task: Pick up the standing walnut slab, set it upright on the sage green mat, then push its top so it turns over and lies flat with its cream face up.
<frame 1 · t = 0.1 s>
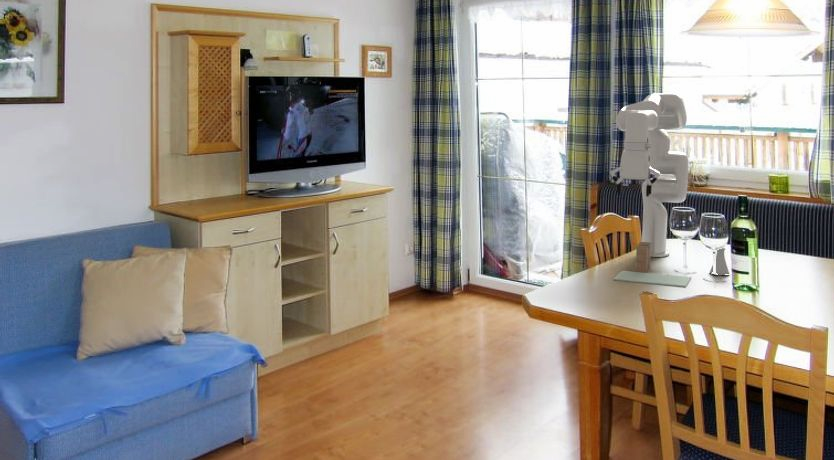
hand: (633, 195, 271), 31 cm above the table, tool pointing down, fingers open, 9 cm apart
sage mat: (652, 279, 277), on the table
flask: (719, 274, 283), on the table
walnut slab: (642, 269, 291), on the table
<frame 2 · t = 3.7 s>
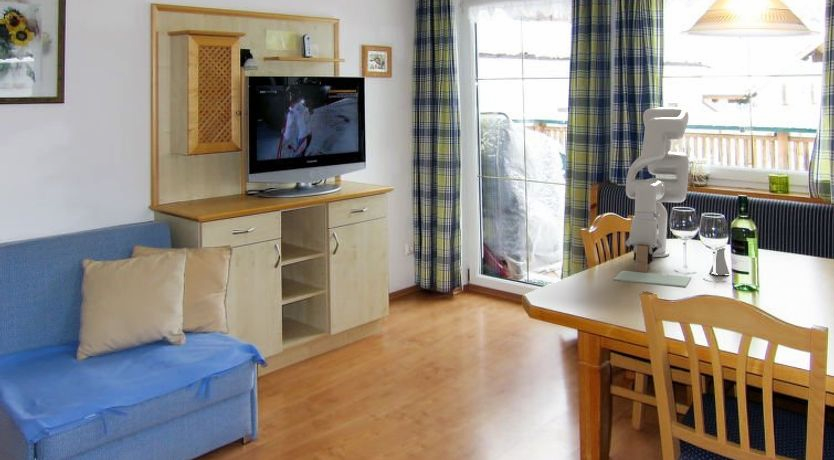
hand: (642, 262, 291), 3 cm above the table, tool pointing down, fingers closed on walnut slab, 4 cm apart
walnut slab: (642, 269, 291), on the table, touching gripper
everything else where it was.
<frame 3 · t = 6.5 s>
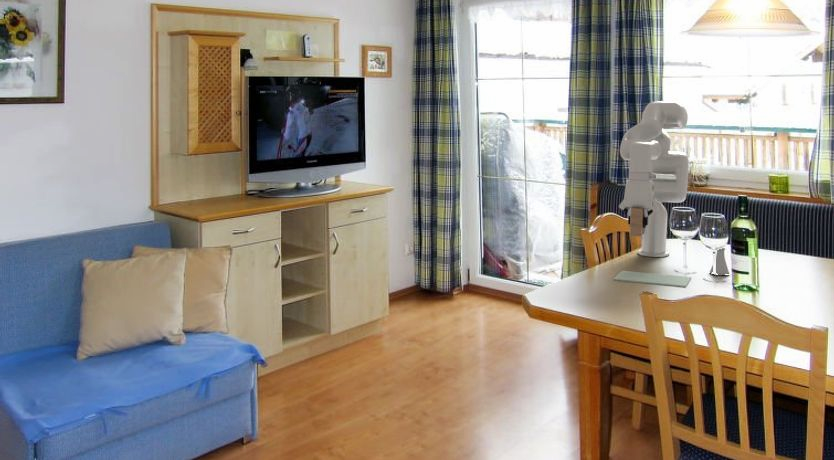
hand: (637, 226, 276), 19 cm above the table, tool pointing down, fingers closed on walnut slab, 4 cm apart
walnut slab: (637, 233, 277), point 16 cm above the table, touching gripper
everything else where it was.
when the fingers open (4 cm above the table, at t = 9.6 s): walnut slab stays where it is, resting on sage mat.
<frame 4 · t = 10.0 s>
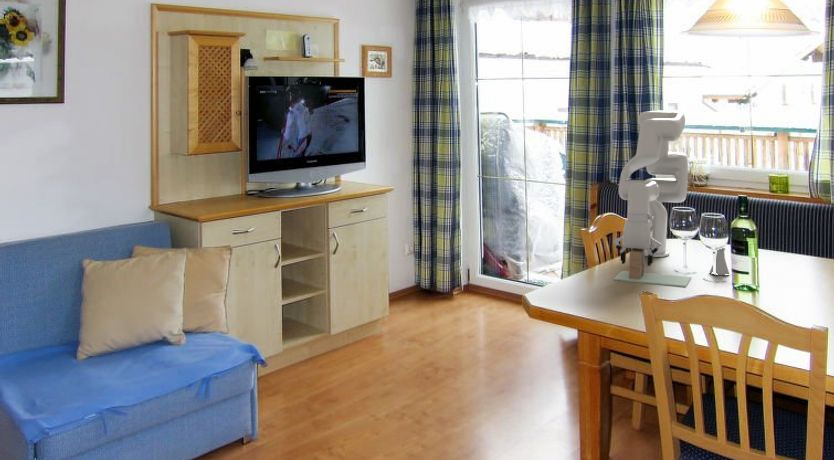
hand: (636, 264, 279), 5 cm above the table, tool pointing down, fingers open, 8 cm apart
walnut slab: (636, 276, 280), resting on sage mat
everything else where it was.
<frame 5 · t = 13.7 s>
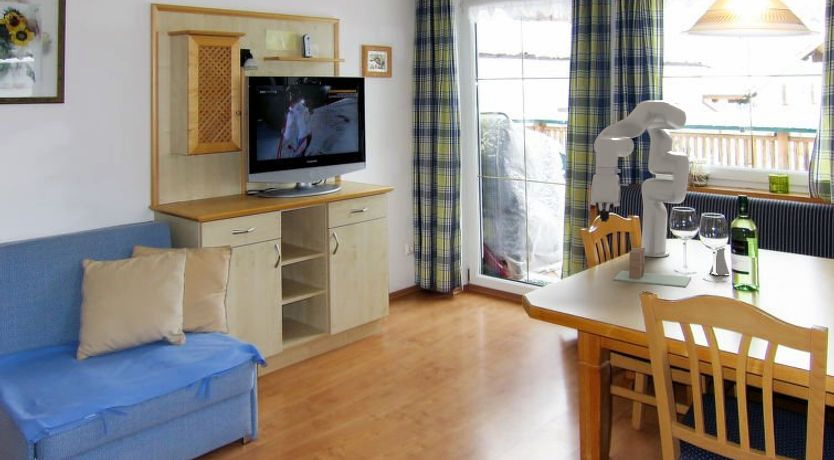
hand: (604, 221, 281), 20 cm above the table, tool pointing down, fingers closed
nothing on the table moved.
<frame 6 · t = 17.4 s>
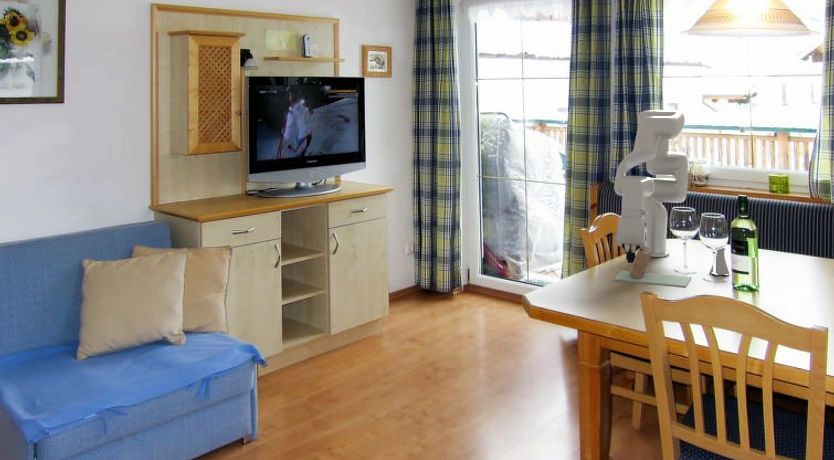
hand: (630, 262, 280), 6 cm above the table, tool pointing down, fingers closed
walnut slab: (636, 274, 280), point 1 cm above the table, tilted 16°, touching gripper, sage mat
everything else where it was.
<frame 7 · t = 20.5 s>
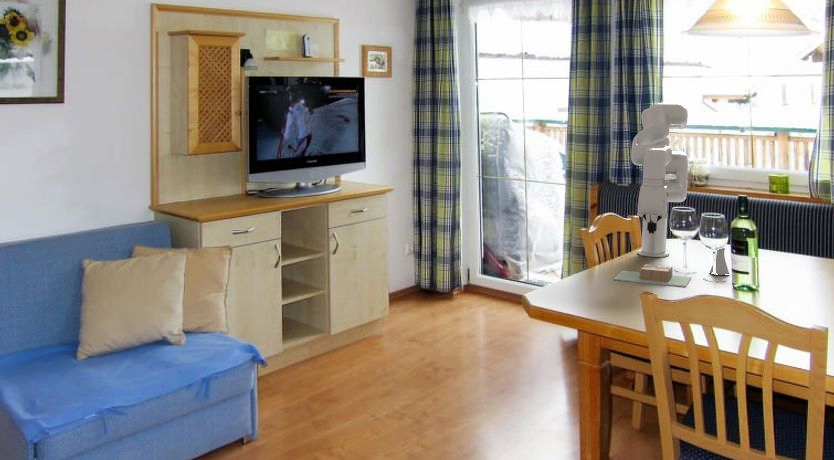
hand: (651, 232, 275), 17 cm above the table, tool pointing down, fingers closed
walnut slab: (642, 271, 279), point 2 cm above the table, tilted 90°, touching sage mat
everything else where it was.
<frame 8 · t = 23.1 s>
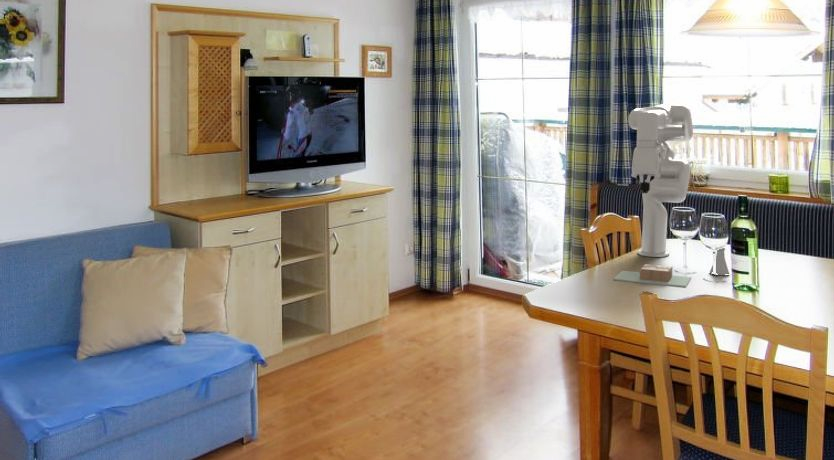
hand: (645, 192, 290), 29 cm above the table, tool pointing down, fingers closed
nothing on the table moved.
at the end: walnut slab tilted 90°; walnut slab inside the target area on the sage mat (1.8 cm from its centre), point 2.5 cm above the sage mat's base; walnut slab touching sage mat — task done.
